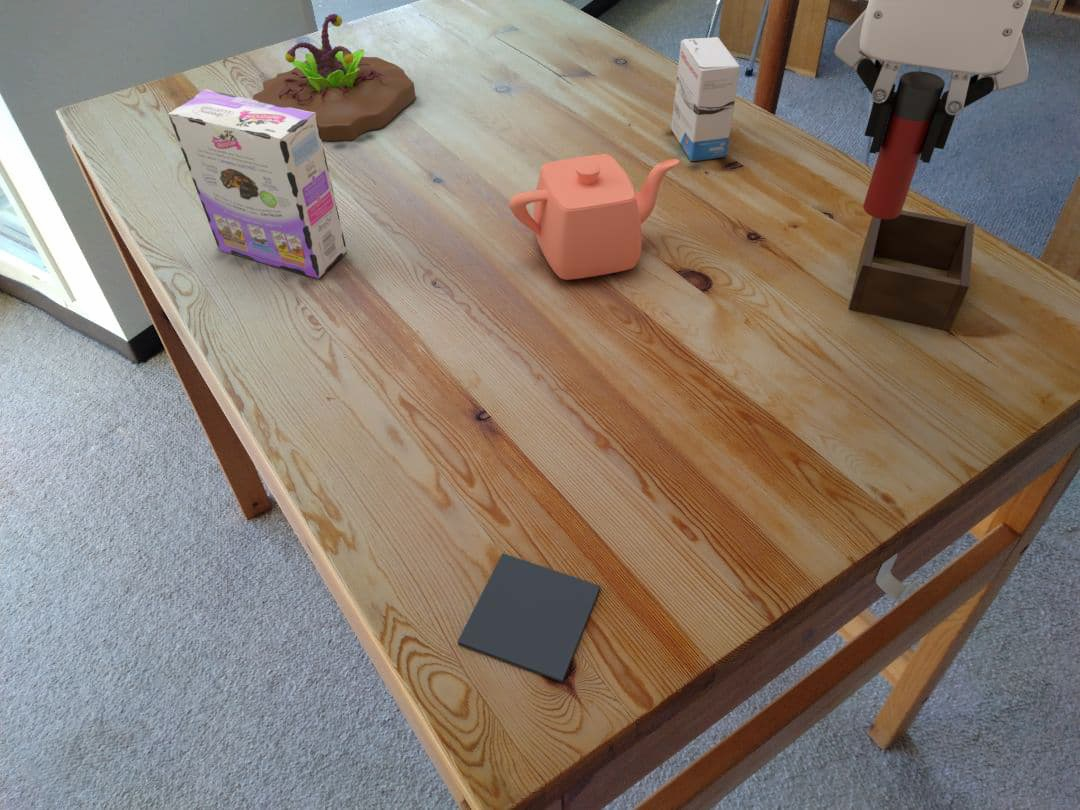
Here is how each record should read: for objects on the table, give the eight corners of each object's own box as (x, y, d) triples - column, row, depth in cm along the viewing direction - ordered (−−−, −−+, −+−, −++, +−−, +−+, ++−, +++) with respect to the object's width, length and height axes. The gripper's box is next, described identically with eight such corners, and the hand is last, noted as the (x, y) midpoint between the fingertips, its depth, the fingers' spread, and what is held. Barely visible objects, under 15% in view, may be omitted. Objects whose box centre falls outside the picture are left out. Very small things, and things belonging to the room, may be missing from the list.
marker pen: (903, 203, 71) (946, 74, 63) (899, 223, 69) (943, 93, 61) (865, 195, 71) (903, 68, 63) (859, 215, 69) (898, 86, 62)
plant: (440, 93, 118) (431, 10, 110) (341, 154, 107) (323, 67, 99) (338, 58, 126) (323, -21, 118) (236, 111, 116) (211, 28, 107)
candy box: (350, 251, 93) (318, 110, 81) (318, 282, 89) (281, 139, 78) (249, 222, 97) (205, 84, 85) (215, 250, 94) (164, 111, 82)
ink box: (728, 158, 105) (743, 65, 96) (689, 162, 104) (700, 69, 96) (706, 124, 111) (718, 34, 102) (669, 129, 110) (678, 38, 102)
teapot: (501, 233, 95) (495, 149, 87) (653, 208, 98) (661, 125, 90) (525, 296, 87) (521, 210, 80) (689, 267, 90) (701, 181, 82)
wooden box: (956, 267, 89) (974, 223, 85) (949, 331, 82) (969, 286, 78) (862, 248, 92) (875, 205, 88) (848, 309, 85) (862, 264, 81)
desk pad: (600, 588, 63) (600, 585, 63) (562, 683, 58) (562, 680, 58) (502, 555, 66) (502, 552, 65) (457, 644, 60) (457, 641, 60)
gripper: (1129, -124, 53) (1015, 145, 66) (858, -146, 57) (803, 110, 71) (1136, -87, 48) (1012, 195, 61) (841, -114, 53) (785, 153, 66)
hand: (901, 147), depth 66 cm, fingers closed on marker pen, 3 cm apart
